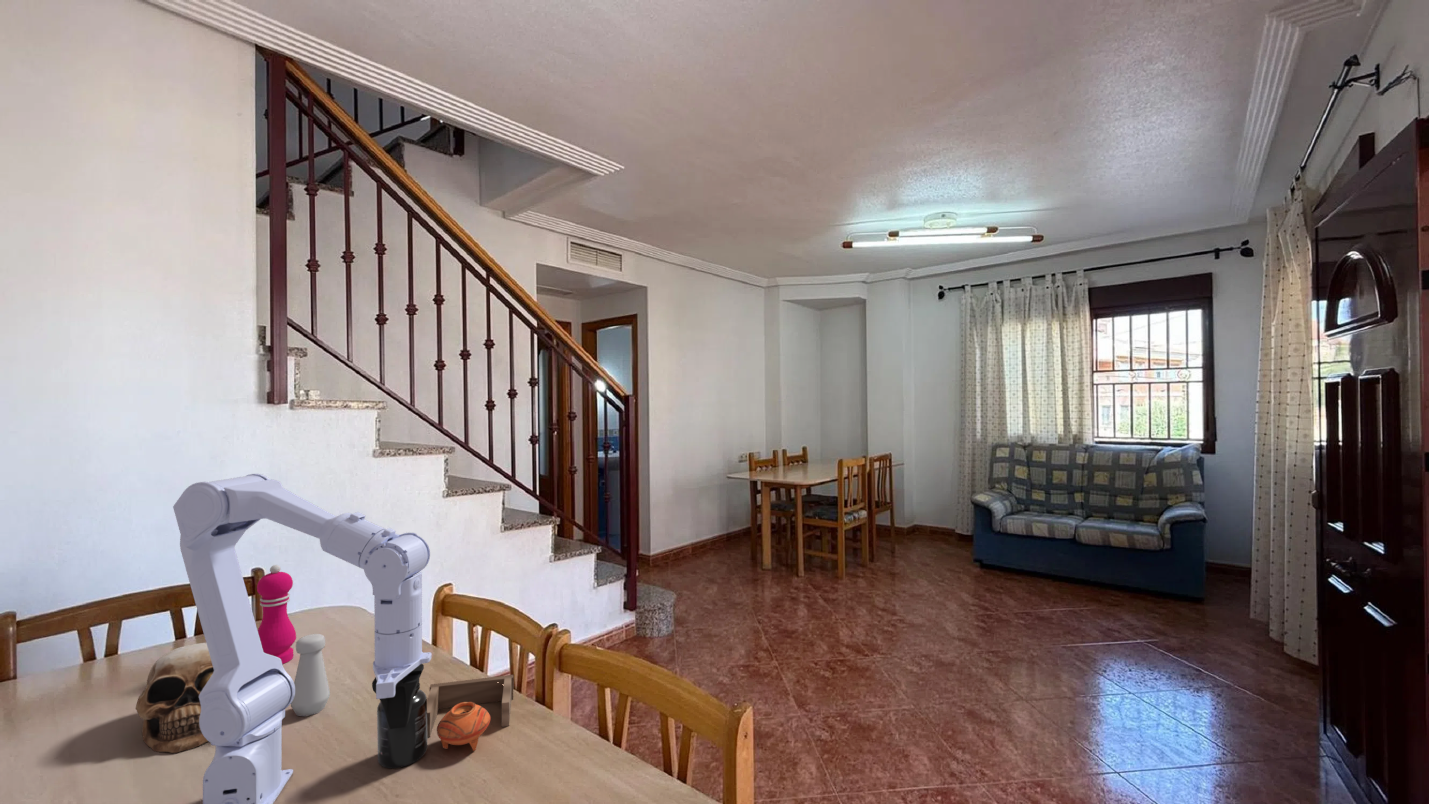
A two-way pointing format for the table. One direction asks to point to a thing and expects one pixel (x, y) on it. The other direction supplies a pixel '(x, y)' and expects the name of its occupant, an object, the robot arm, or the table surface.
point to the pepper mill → (276, 614)
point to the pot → (463, 725)
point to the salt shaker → (310, 677)
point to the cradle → (470, 696)
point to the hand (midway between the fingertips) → (398, 725)
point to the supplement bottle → (403, 735)
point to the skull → (175, 699)
